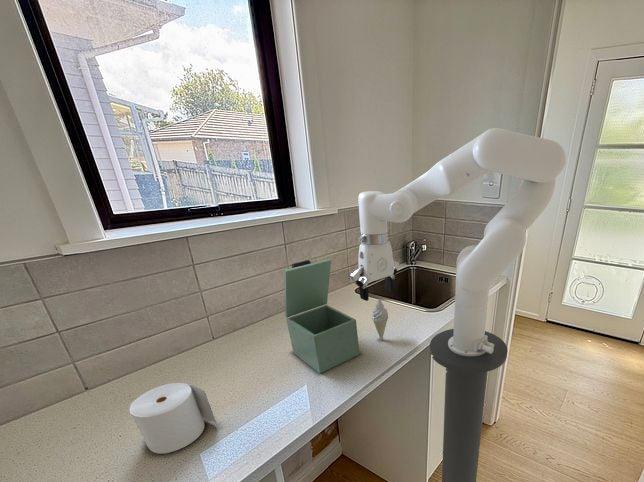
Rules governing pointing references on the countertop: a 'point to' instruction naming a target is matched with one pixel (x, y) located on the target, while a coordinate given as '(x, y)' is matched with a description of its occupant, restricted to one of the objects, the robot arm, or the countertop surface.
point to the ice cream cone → (380, 318)
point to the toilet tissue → (171, 416)
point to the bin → (323, 337)
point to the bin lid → (306, 286)
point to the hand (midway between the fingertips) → (377, 295)
